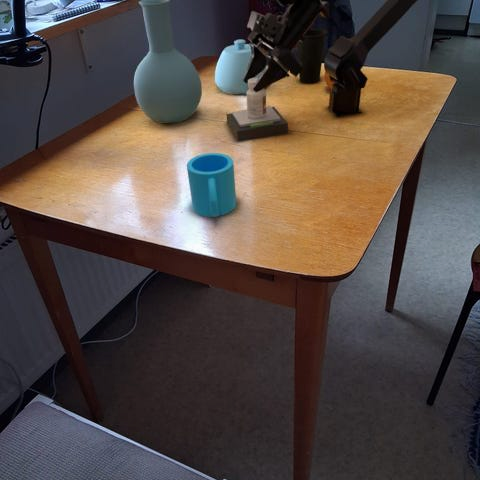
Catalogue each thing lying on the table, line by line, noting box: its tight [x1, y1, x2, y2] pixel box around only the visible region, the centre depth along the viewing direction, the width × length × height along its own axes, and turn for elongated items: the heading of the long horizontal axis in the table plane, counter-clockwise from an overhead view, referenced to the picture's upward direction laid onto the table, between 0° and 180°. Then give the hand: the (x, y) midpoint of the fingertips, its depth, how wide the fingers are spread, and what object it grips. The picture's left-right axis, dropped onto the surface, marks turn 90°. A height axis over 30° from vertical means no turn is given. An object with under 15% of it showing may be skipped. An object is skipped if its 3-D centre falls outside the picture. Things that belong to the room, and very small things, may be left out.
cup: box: [297, 28, 327, 85], centre depth 132 cm, size 8×8×12 cm
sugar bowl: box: [214, 39, 263, 95], centre depth 132 cm, size 15×15×12 cm
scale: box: [225, 105, 289, 142], centre depth 113 cm, size 12×11×3 cm
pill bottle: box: [246, 78, 267, 119], centre depth 109 cm, size 4×4×8 cm
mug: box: [186, 152, 237, 218], centre depth 85 cm, size 12×8×8 cm
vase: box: [133, 0, 203, 124], centre depth 114 cm, size 16×17×25 cm
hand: (249, 86), depth 107 cm, fingers open, 6 cm apart
